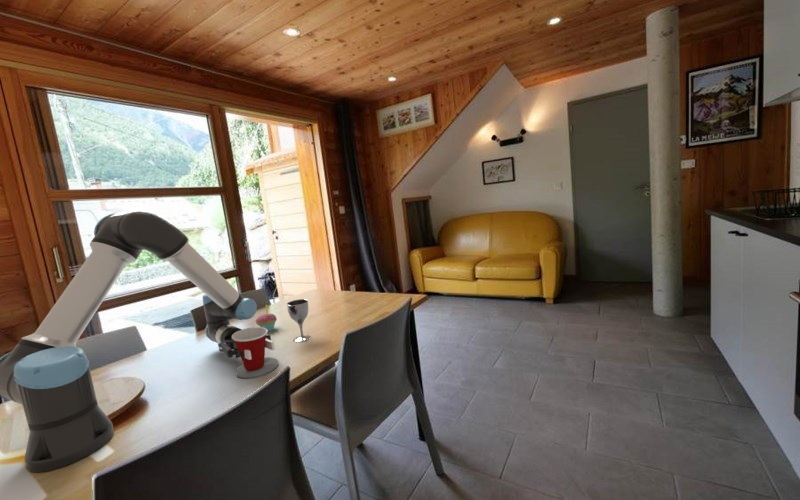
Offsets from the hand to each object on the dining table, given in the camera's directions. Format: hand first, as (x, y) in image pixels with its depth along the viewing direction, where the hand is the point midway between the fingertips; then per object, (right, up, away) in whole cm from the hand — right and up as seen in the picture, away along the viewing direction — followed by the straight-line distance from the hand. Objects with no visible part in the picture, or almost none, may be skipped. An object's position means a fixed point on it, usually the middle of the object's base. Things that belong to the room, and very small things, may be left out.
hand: (261, 350), depth 110 cm
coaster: (-3, -7, +4) cm, 9 cm away
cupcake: (-14, -3, +42) cm, 44 cm away
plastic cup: (-3, -7, +4) cm, 8 cm away
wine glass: (+5, -3, +27) cm, 28 cm away
